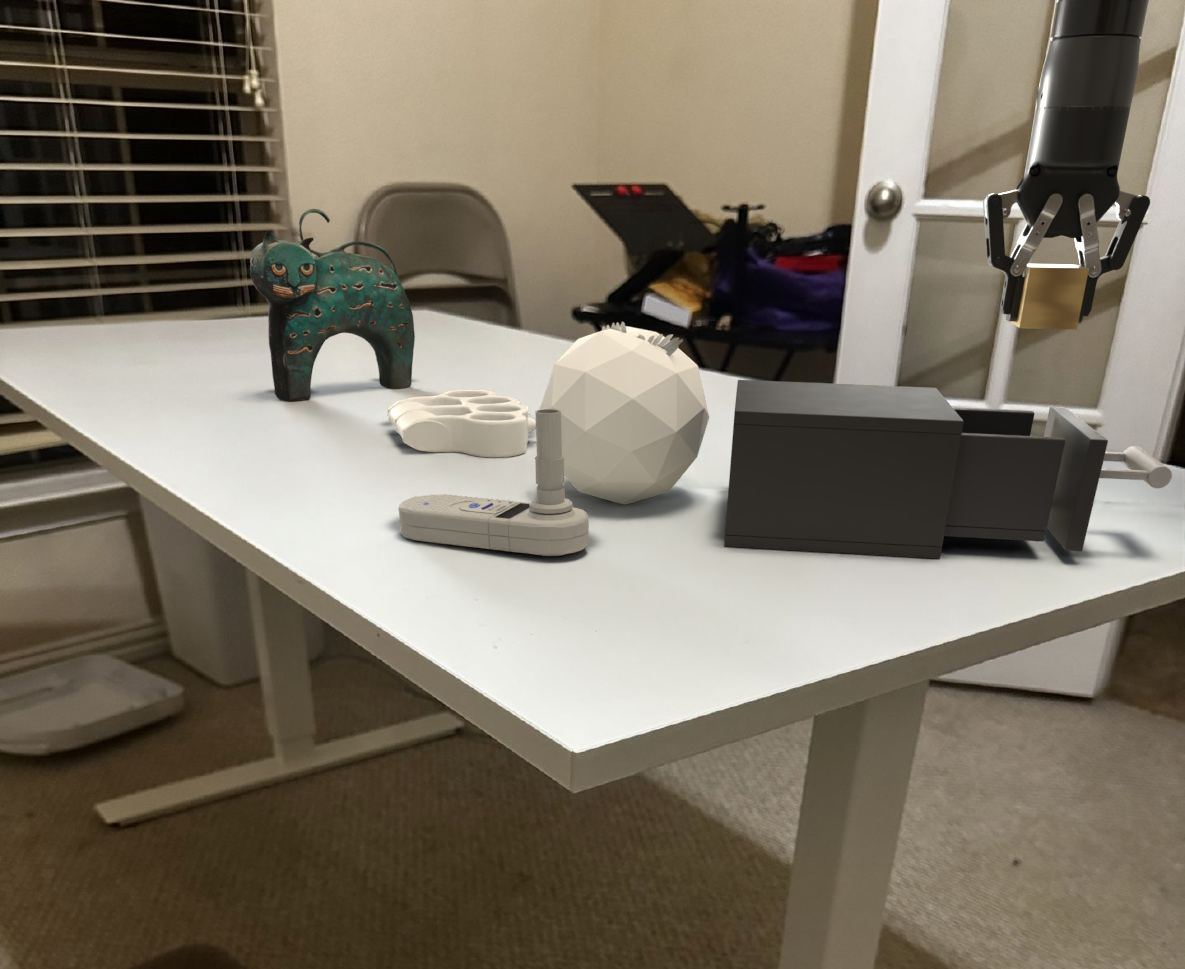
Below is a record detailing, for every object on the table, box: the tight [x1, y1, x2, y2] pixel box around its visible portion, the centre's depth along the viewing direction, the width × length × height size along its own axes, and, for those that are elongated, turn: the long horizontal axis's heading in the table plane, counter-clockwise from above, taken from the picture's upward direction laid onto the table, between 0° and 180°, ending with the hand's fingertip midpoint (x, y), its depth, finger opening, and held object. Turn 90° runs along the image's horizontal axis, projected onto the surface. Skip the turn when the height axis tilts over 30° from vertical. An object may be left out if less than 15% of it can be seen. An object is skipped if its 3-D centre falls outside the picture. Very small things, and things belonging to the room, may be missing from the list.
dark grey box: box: [723, 379, 964, 560], centre depth 87 cm, size 16×14×10 cm
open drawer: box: [944, 406, 1173, 552], centre depth 86 cm, size 20×13×8 cm, turn 83°
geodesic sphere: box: [538, 321, 710, 506], centre depth 93 cm, size 15×14×14 cm
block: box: [1008, 263, 1089, 331], centre depth 102 cm, size 5×5×5 cm
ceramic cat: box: [249, 208, 416, 402], centre depth 133 cm, size 20×6×20 cm, turn 132°
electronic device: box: [398, 409, 590, 557], centre depth 82 cm, size 5×10×15 cm
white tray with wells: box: [387, 389, 536, 458], centre depth 115 cm, size 3×18×15 cm
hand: (1043, 320), depth 103 cm, fingers closed on block, 5 cm apart
